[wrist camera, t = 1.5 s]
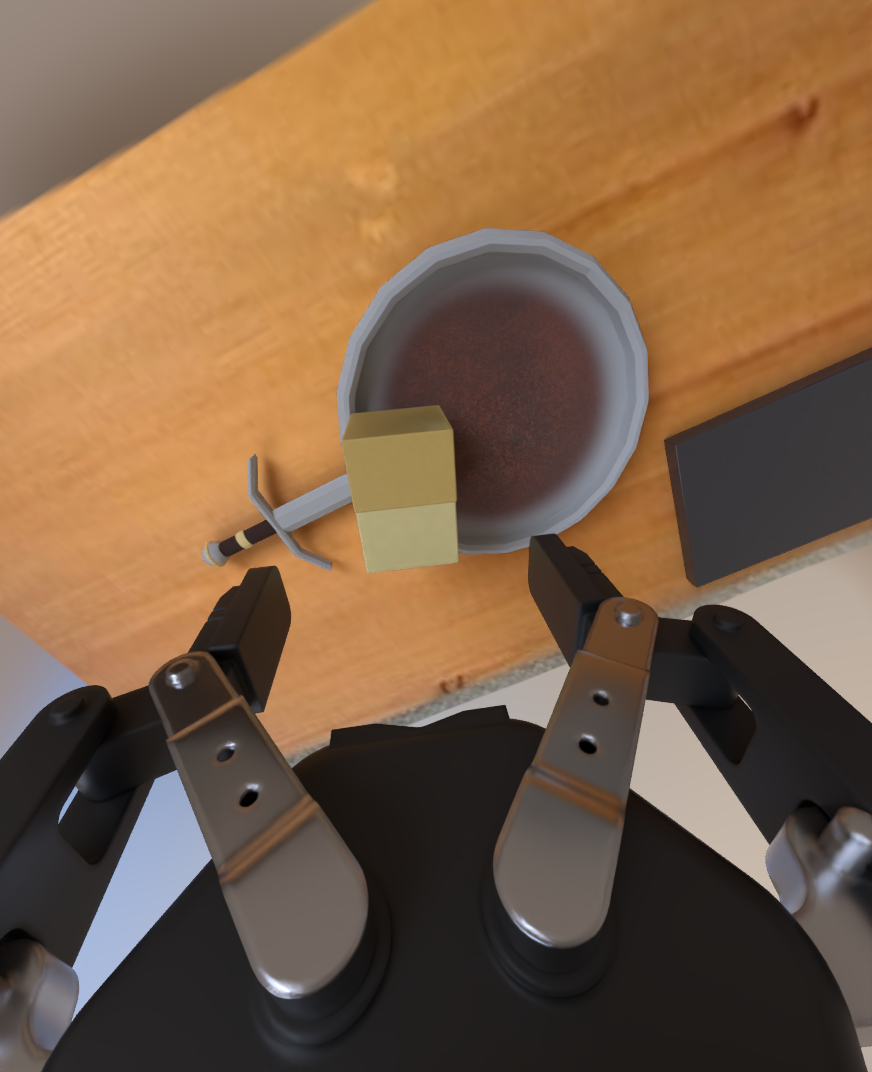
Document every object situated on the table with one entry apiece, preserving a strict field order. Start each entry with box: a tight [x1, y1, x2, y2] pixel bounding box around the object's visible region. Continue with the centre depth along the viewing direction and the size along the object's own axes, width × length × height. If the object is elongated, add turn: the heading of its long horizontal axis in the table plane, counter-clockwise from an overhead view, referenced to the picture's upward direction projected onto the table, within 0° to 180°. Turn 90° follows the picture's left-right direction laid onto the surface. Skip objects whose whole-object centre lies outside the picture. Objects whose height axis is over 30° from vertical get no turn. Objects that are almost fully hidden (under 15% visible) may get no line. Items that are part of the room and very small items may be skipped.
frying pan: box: [202, 228, 649, 571], centre depth 23 cm, size 17×3×28 cm
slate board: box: [664, 348, 872, 587], centre depth 27 cm, size 20×12×1 cm, turn 114°
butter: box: [341, 405, 459, 573], centre depth 20 cm, size 4×6×5 cm
